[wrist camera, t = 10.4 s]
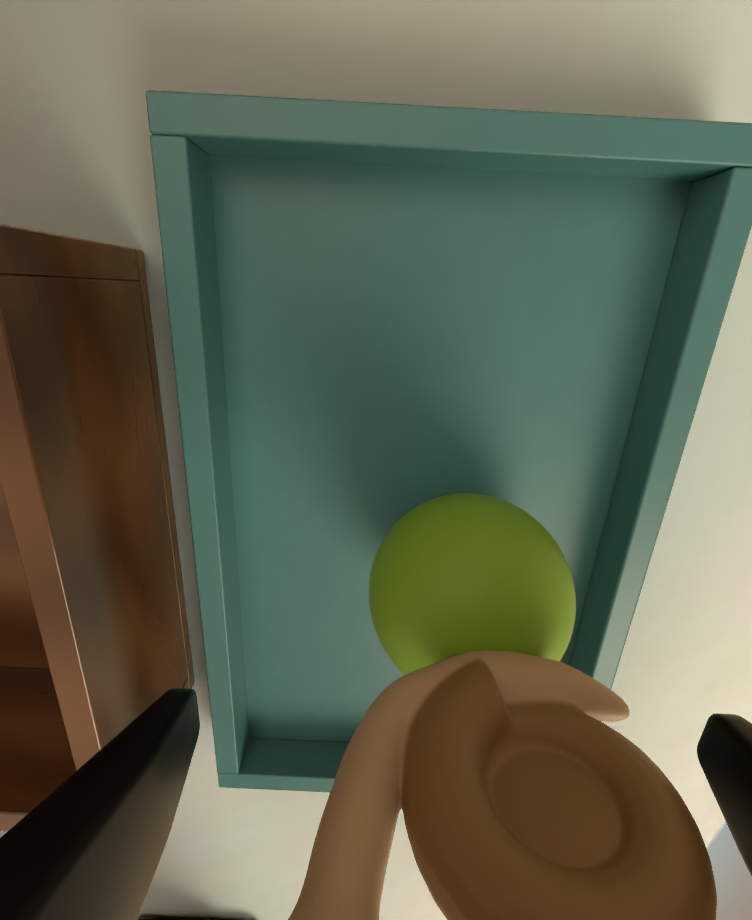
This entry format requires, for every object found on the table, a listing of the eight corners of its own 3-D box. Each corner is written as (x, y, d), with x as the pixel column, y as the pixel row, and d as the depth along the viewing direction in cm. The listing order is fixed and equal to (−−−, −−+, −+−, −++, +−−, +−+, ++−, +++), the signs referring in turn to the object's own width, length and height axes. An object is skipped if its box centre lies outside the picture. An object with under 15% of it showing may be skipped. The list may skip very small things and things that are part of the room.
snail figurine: (339, 462, 14) (163, 1165, 3) (547, 466, 14) (1245, 1197, 3) (341, 606, 16) (243, 1372, 5) (524, 610, 16) (876, 1394, 5)
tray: (557, 753, 19) (577, 804, 17) (234, 738, 19) (218, 788, 17) (718, 151, 11) (784, 123, 10) (183, 122, 11) (144, 89, 9)
